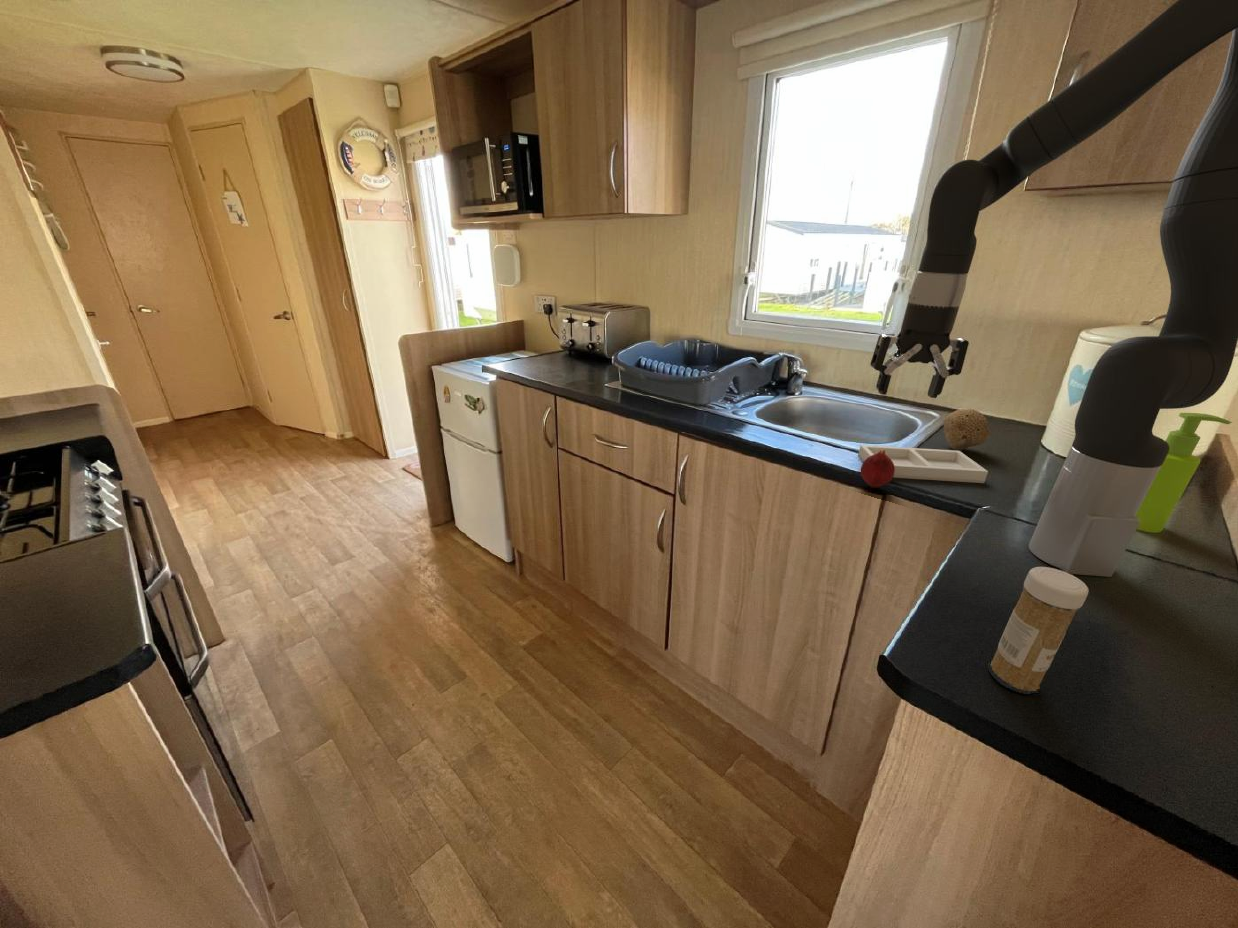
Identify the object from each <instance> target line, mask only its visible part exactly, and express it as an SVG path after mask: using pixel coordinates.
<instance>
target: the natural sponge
mask: <svg viewBox="0 0 1238 928" xmlns="http://www.w3.org/2000/svg"><path fill="white" fill-rule="evenodd" d="M990 433H991V432H990V427H989V422H988V420H987V418H986V417H985V416H984V414H983V413H981V412H980V411H979V410H977V409H974V408H967V409H966V408H965V409H964V408H962V409H957V410H955V411H952V412H951V413H950V414H949V413H948V415H947V416H946V417H945V418H944V421H943V434H944V437H945V440H946V442H947V444H948V446H949V447H950V448H951V450H955V451H963V450H966V449H968V448H970V447H977V446H980V445H982V444H984V443H985V442H987V441H988V439H989V437H990V435H991V434H990Z"/></svg>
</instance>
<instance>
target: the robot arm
mask: <svg viewBox="0 0 1238 928" xmlns="http://www.w3.org/2000/svg"><path fill="white" fill-rule="evenodd" d="M1231 32H1232V35H1231V39H1230V44H1229V46H1228V47H1229V48H1228V52H1227V56H1226V59H1225V60H1226V61H1225V64H1224V68H1223V72H1222V76H1221V79H1220V82H1219V85H1218V88H1217V89H1216V93H1215V94H1214V97H1213V98H1212V101H1211V102H1210V105H1209V107H1208V109H1207V110H1206V112H1205V114H1204V116H1203V118H1202V119H1201V121H1200V123H1199V125H1198V126H1197V128H1196V131H1195V132H1194V134H1193V136H1192V138H1191V140H1190V142H1189V144H1188V146H1187V148H1186V150H1185V153H1184V154H1183V156H1182V158H1181V161H1180V163H1179V166H1178V169H1177V170H1176V173H1175V175H1174V178H1173V182H1172V184H1171V187H1170V190H1169V192H1168V197H1167V200H1166V203H1165V205H1164V209H1163V212H1162V216H1161V220H1160V225H1159V237H1160V245H1161V251H1162V255H1163V258H1164V262H1165V266H1166V269H1167V273H1168V278H1169V283H1170V298H1169V299H1170V300H1169V303H1168V309H1167V312H1166V314H1165V315H1166V316H1165V318H1164V322H1163V325H1162V327H1161V329H1160V332H1159V333H1158V336H1157V335H1156V336H1151V335H1149V336H1146V335H1145V336H1134V337H1128V338H1125V339H1122V340H1119V341H1117V342H1116V343H1114V344H1113V345H1111V346H1110V347H1109V348H1108V349H1107V350H1105V352H1103V354H1102V355H1101V356H1100V357H1099V358H1098V360H1097V361H1096V364H1095V365H1094V367H1093V369H1092V371H1091V373H1090V376H1089V379H1088V380H1087V384H1086V387H1085V390H1084V393H1083V396H1082V399H1081V401H1080V405H1079V407H1078V410H1077V413H1076V416H1075V420H1074V432H1075V433H1074V434H1075V435H1074V439H1073V441H1072V443H1071V446H1070V449H1069V451H1068V453H1067V455H1066V458H1065V459H1064V462H1063V465H1062V466H1061V469H1060V472H1059V473H1058V476H1057V478H1056V480H1055V482H1054V486H1053V488H1052V490H1051V492H1050V494H1049V497H1048V499H1047V501H1046V504H1045V506H1044V509H1043V510H1042V513H1041V515H1040V518H1039V520H1038V522H1037V525H1036V527H1035V530H1034V532H1033V534H1032V537H1031V538H1030V541H1029V544H1028V549H1029V551H1030V552H1031V553H1032V554H1033V555H1034V556H1036V557H1037V558H1038V559H1040V560H1042V561H1043V562H1045V563H1047V564H1049V565H1051V566H1053V567H1054V568H1055V567H1056V568H1058V569H1059V570H1061V571H1064V572H1066V573H1068V574H1071V575H1081V576H1095V577H1109V578H1111V577H1112V576H1113V574H1114V572H1115V570H1116V569H1117V567H1118V565H1119V563H1120V562H1121V559H1122V557H1123V556H1124V554H1125V552H1126V550H1127V548H1128V547H1129V544H1130V542H1131V540H1132V539H1133V538H1134V535H1135V534H1136V531H1137V528H1138V526H1139V524H1140V520H1139V519H1138V518H1136V517H1135V515H1136V513H1137V511H1138V510H1139V508H1140V506H1141V504H1142V502H1143V500H1144V498H1145V496H1146V494H1147V492H1148V490H1149V489H1150V487H1151V485H1152V483H1153V481H1154V479H1155V477H1156V475H1157V474H1158V472H1159V470H1160V468H1161V466H1162V464H1163V462H1164V460H1165V458H1166V457H1167V455H1168V452H1169V445H1168V443H1167V442H1166V439H1165V440H1164V439H1163V438H1161V437H1159V436H1157V435H1155V434H1153V428H1154V425H1155V423H1156V420H1157V418H1158V415H1159V413H1160V410H1169V409H1170V410H1175V409H1186V408H1191V407H1194V406H1197V405H1200V404H1202V403H1204V402H1206V401H1208V400H1209V399H1210V398H1211V397H1213V396H1214V395H1215V394H1216V393H1217V392H1218V391H1219V390H1220V389H1221V387H1222V386H1223V385H1224V383H1225V382H1226V380H1227V377H1228V375H1229V374H1230V370H1231V368H1232V364H1233V361H1234V357H1235V352H1236V347H1237V344H1238V0H1176V1H1175V2H1174V3H1173V4H1172V5H1171V6H1169V7H1168V8H1167V9H1166V10H1164V12H1162V13H1161V14H1159V15H1158V16H1157V17H1155V19H1154V20H1152V21H1151V22H1150V23H1148V24H1147V26H1145V27H1144V28H1143V29H1142V30H1139V32H1138V33H1136V34H1135V35H1134V36H1133V37H1132V38H1130V39H1129V40H1128V41H1126V43H1123V45H1122V46H1120V47H1119V48H1118V49H1116V50H1115V51H1114V52H1112V53H1111V54H1110V55H1108V57H1106V58H1105V59H1104V60H1103V61H1101V62H1100V63H1098V64H1097V65H1095V66H1094V67H1093V68H1092V69H1090V70H1089V71H1088V72H1087V73H1085V74H1084V75H1082V76H1081V77H1080V78H1078V79H1077V80H1076V81H1074V82H1072V83H1071V84H1070V85H1068V86H1067V87H1066V88H1064V89H1063V90H1062V91H1061V92H1059V93H1058V94H1056V95H1055V96H1054V97H1052V98H1050V99H1049V100H1048V101H1046V102H1045V103H1043V104H1042V105H1040V107H1038V108H1037V109H1035V110H1033V112H1031V113H1030V114H1029V115H1027V116H1026V117H1024V118H1023V119H1021V121H1019V122H1018V123H1017V124H1016V125H1015V126H1013V127H1012V128H1011V129H1010V130H1009V131H1008V133H1007V135H1006V138H1005V140H1003V141H1002V142H1001V143H1000V144H998V145H997V146H996V147H995V148H993V149H992V150H991V151H989V152H988V153H987V154H986V155H984V156H982V157H981V158H980V159H979V160H976V159H964V160H960V161H957V162H954V164H951V166H949V167H947V169H945V171H944V172H943V173H942V174H941V176H940V177H939V178H938V179H937V182H936V184H935V186H934V189H933V191H932V195H931V200H930V203H929V211H928V218H927V219H928V220H927V228H926V243H925V246H924V249H923V251H922V254H921V255H922V256H921V259H920V263H919V267H918V272H917V273H916V276H915V279H914V280H913V283H912V286H911V290H910V292H909V295H908V299H907V300H908V301H907V303H906V309H905V311H904V314H903V315H904V316H903V319H902V323H901V328H900V332H899V333H898V334H897V336H893V335H887V334H886V333H881V334H879V335H878V339H877V342H876V345H875V347H874V351H873V355H872V357H871V360H870V363H869V364H870V367H871V368H872V369H874V370H875V371H878V372H879V374H878V378H877V382H876V385H875V386H876V387H875V388H876V390H877V392H878V394H880V395H883V396H885V395H887V393H888V389H889V386H890V383H891V378H892V374H891V373H893V372H894V371H895V370H896V369H897V368H899V367H901V366H903V365H904V364H905V363H906V362H908V363H911V364H912V363H922V364H930V365H931V366H932V369H933V371H934V372H935V374H932V377H931V381H930V383H929V387H928V390H927V396H928V397H929V398H931V399H937V398H938V396H940V395H941V394H942V393H943V389H944V385H945V382H946V379H947V378H948V377H950V376H958V375H960V374H961V373H962V370H963V367H964V362H965V359H966V356H967V352H968V347H969V343H970V342H969V340H966V339H964V338H963V337H962V338H961V337H956V338H952V339H951V337H950V336H951V333H952V332H953V329H954V326H955V322H956V319H957V316H958V312H959V309H960V306H961V303H962V300H963V298H964V297H963V296H964V294H965V291H966V285H967V280H968V276H969V275H968V274H969V272H970V268H971V266H972V262H973V259H974V256H975V252H976V249H977V237H976V233H975V231H976V227H977V222H978V218H979V216H980V215H979V214H980V212H981V211H983V210H985V209H986V208H988V207H990V206H991V205H993V204H994V203H996V202H998V201H999V200H1000V199H1001V198H1003V197H1004V196H1006V195H1007V194H1008V193H1010V192H1011V191H1013V190H1014V189H1015V188H1016V187H1017V186H1019V185H1020V184H1021V183H1022V182H1024V181H1025V180H1027V178H1029V177H1030V176H1031V175H1032V174H1034V173H1035V172H1037V170H1040V169H1042V168H1044V167H1045V166H1046V165H1049V164H1050V163H1052V162H1053V161H1054V160H1057V159H1058V158H1060V157H1061V156H1063V155H1064V154H1065V153H1067V152H1069V151H1070V150H1072V149H1073V148H1075V147H1076V146H1078V145H1079V144H1082V143H1083V142H1084V141H1085V140H1087V139H1088V138H1090V137H1092V136H1093V135H1094V134H1097V132H1099V131H1100V130H1102V128H1104V127H1105V126H1107V125H1108V124H1110V123H1111V122H1112V121H1114V120H1115V119H1116V118H1117V117H1119V116H1120V115H1121V114H1122V113H1123V112H1125V111H1126V110H1127V109H1129V108H1130V107H1131V106H1132V105H1133V104H1134V103H1136V102H1137V101H1138V100H1139V99H1140V98H1141V97H1143V96H1144V95H1145V94H1146V93H1148V92H1149V91H1150V90H1151V89H1152V88H1153V87H1154V86H1156V85H1157V84H1158V83H1159V82H1161V80H1163V79H1165V78H1166V77H1167V76H1168V75H1169V74H1171V73H1172V72H1173V71H1175V70H1177V68H1179V67H1180V66H1181V65H1184V63H1186V62H1187V61H1188V60H1190V59H1191V58H1193V57H1194V56H1195V55H1197V54H1199V53H1200V52H1201V51H1202V50H1204V49H1206V48H1207V47H1209V46H1211V45H1212V44H1213V43H1215V42H1216V41H1218V40H1219V39H1221V38H1223V37H1224V36H1226V35H1228V34H1229V33H1231ZM894 344H895V345H896V347H897V349H896V350H895V351H894V352H893V353H892V354H890V356H889V357H888V359H887V360H886V361H885V359H886V356H887V353H888V350H889V349H891V348H893V346H894ZM948 348H949V351H951V353H950V356H949V360H948V363H947V366H946V362H945V359H944V357H943V355H942V353H944V352H945V351H946V350H947V349H948Z"/></svg>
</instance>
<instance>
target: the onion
mask: <svg viewBox="0 0 1238 928" xmlns="http://www.w3.org/2000/svg"><path fill="white" fill-rule="evenodd" d="M894 472H895V467H894V464H893V462H892V460H891V459H890V458H889V457H888V456H887V455H886V454H885V450H883V449H881V450H880V451H879V452H878V453H877V454H875V455H872V456H870V457H868V458H867V459H866V460H865V461H864V462H863V461H862V464H861V465H860V474H861V478H862V479H863V481H864V482H865V483H866V484H867V485H868V486H869V487H870V488H873V489H875V488H879V487H882V486H885V485H886V484H888V483H889V482H891V481H892V480H893V478H894V477H893V476H894Z"/></svg>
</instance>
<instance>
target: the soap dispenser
mask: <svg viewBox="0 0 1238 928" xmlns="http://www.w3.org/2000/svg"><path fill="white" fill-rule="evenodd" d="M1178 417H1180V418H1182V419H1183V422H1182V424H1181V426H1180V428H1179V429H1177V430H1172V431H1170V432H1169V433H1168V435H1167V437H1166V439H1165V441H1166V442H1167V443H1168V445H1169V452H1168V455H1167V457H1166V458H1165V460H1164V462H1163V464H1162V466H1161V468H1160V470H1159V472H1158V474H1157V475H1156V477H1155V479H1154V481H1153V483H1152V485H1151V487H1150V489H1149V490H1148V492H1147V494H1146V496H1145V498H1144V500H1143V502H1142V504H1141V506H1140V508H1139V510H1138V511H1137V513H1136V515H1135V517H1136V518H1138V519H1139V520H1140V524H1139V526H1138V528H1137V529H1136V531H1141V532H1145V533H1153V534H1155V533H1158V534H1159V533H1161V532H1162V531H1163V530H1164V528H1165V526H1166V525H1167V523H1168V521H1169V519H1170V517H1171V516H1172V513H1173V512H1174V510H1175V508H1176V506H1177V504H1178V503H1179V501H1180V499H1181V497H1182V496H1183V494H1184V492H1185V491H1186V489H1187V487H1188V485H1189V483H1190V482H1191V479H1192V478H1193V476H1194V474H1195V472H1196V470H1197V469H1198V467H1199V465H1200V463H1201V462H1202V459H1200V457H1197V456H1195V455H1193V453H1194V451H1195V449H1196V447H1197V445H1198V443H1199V441H1200V439H1201V436H1199V435H1198V434H1197V433H1196V431H1197V429H1198V428H1199V426H1200V424H1201V422H1202V421H1207V422H1217V423H1221V424H1225V425H1230V424H1231V423H1233V422H1232V421H1230V420H1228V419H1225V418H1222V417H1220V416H1217V415H1211V414H1207V413H1197V412H1179V414H1178Z"/></svg>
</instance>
